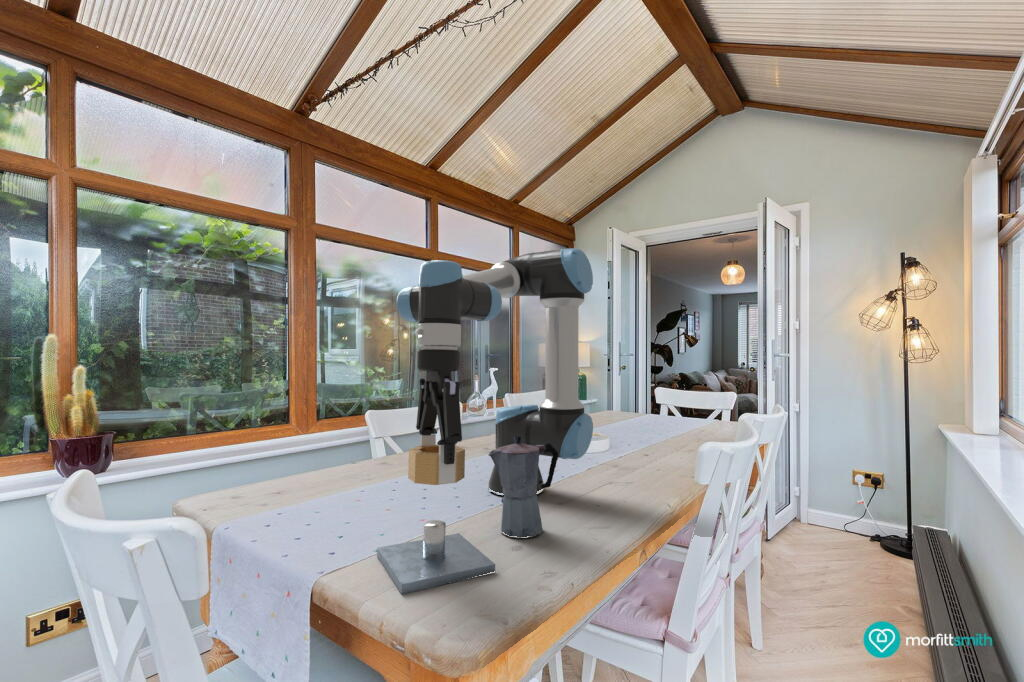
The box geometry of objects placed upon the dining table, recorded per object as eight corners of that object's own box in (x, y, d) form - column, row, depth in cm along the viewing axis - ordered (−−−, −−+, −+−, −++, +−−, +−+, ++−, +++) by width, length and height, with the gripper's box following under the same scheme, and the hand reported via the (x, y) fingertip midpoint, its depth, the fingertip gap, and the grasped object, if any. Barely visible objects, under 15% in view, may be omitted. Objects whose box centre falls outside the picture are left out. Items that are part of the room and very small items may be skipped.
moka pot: (480, 527, 103) (482, 433, 104) (546, 520, 109) (547, 430, 109) (495, 544, 94) (496, 440, 95) (566, 535, 100) (567, 437, 101)
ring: (451, 470, 91) (451, 443, 92) (470, 480, 84) (471, 451, 84) (403, 474, 87) (404, 446, 87) (419, 487, 79) (420, 456, 79)
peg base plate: (458, 541, 96) (459, 505, 96) (495, 573, 82) (495, 531, 82) (377, 555, 88) (377, 517, 88) (401, 594, 74) (402, 547, 74)
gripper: (400, 348, 94) (398, 466, 93) (440, 347, 75) (437, 494, 74) (437, 349, 97) (435, 462, 97) (484, 348, 78) (482, 489, 78)
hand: (436, 476), depth 85 cm, fingers closed on ring, 9 cm apart
